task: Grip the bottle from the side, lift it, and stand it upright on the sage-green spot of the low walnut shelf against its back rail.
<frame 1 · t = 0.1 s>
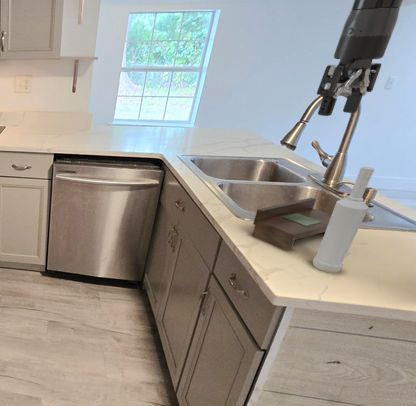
hand: (336, 114, 81), 35 cm above the worktop, tool pointing down, fingers open, 8 cm apart
bottle: (325, 267, 87), on the worktop
shelf: (295, 235, 102), on the worktop
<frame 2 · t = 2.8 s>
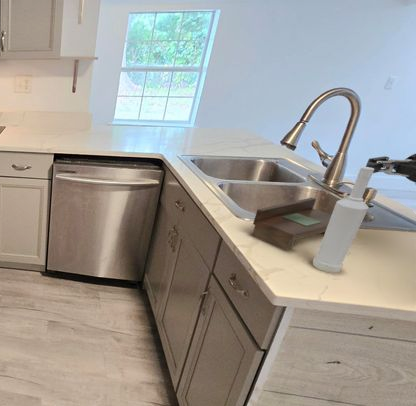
hand: (393, 174, 82), 22 cm above the worktop, tool horizontal, fingers open, 8 cm apart
nothing on the worktop moved.
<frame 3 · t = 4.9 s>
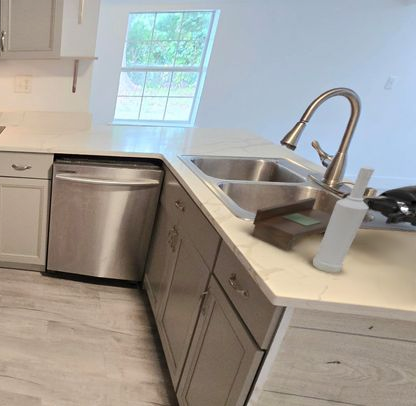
hand: (365, 212, 84), 13 cm above the worktop, tool horizontal, fingers open, 8 cm apart
nothing on the worktop moved.
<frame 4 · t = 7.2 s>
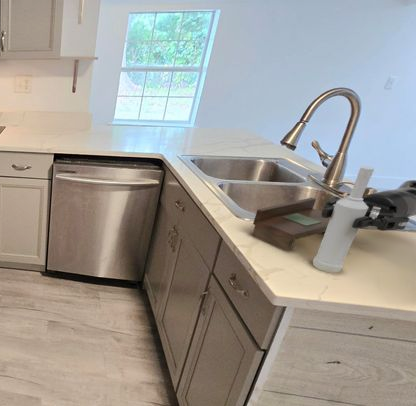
hand: (339, 218, 81), 14 cm above the worktop, tool horizontal, fingers closed on bottle, 5 cm apart
bottle: (325, 268, 87), on the worktop, touching gripper
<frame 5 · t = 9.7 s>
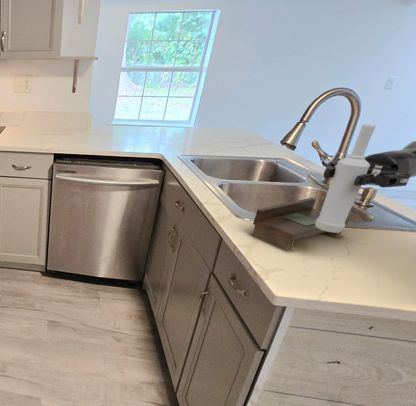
hand: (341, 177, 82), 22 cm above the worktop, tool horizontal, fingers closed on bottle, 5 cm apart
bottle: (328, 228, 88), point 8 cm above the worktop, touching gripper
when the fingers open (19 cm above the worktop, at t = 12.5 s): bottle stays where it is, resting on shelf.
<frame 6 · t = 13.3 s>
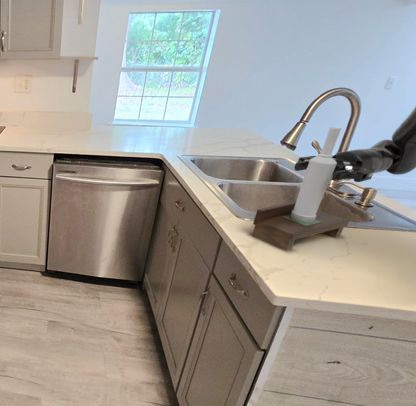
hand: (314, 171, 93), 19 cm above the worktop, tool horizontal, fingers open, 8 cm apart
bottle: (301, 219, 100), point 5 cm above the worktop, touching shelf
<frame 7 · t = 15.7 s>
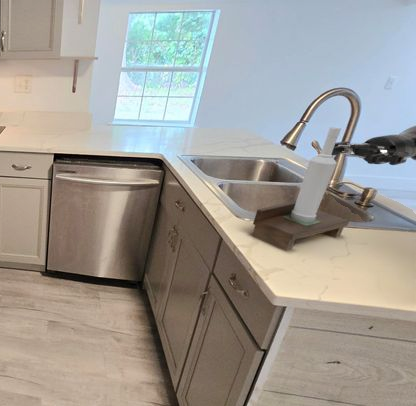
hand: (350, 155, 96), 22 cm above the worktop, tool horizontal, fingers open, 8 cm apart
nothing on the worktop moved.
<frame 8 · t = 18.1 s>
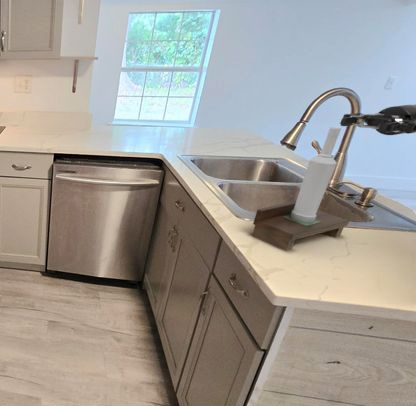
hand: (363, 125, 93), 30 cm above the worktop, tool horizontal, fingers open, 8 cm apart
nothing on the worktop moved.
at the end: bottle 0.2 cm from the target spot, point 5.0 cm above the worktop; bottle tilted 0°; the gripper is holding nothing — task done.
